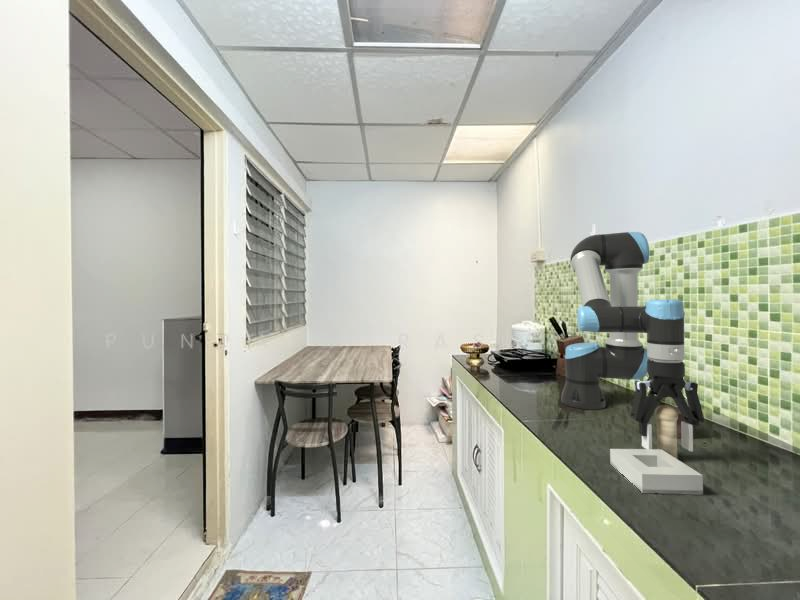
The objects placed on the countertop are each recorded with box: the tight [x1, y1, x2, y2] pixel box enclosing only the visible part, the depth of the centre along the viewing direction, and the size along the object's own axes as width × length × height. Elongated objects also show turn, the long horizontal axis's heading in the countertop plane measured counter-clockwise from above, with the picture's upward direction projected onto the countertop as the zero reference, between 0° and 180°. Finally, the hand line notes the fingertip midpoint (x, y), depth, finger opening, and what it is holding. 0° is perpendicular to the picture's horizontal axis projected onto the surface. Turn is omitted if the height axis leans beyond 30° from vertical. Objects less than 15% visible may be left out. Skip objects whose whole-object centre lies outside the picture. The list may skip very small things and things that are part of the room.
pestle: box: [654, 404, 678, 459], centre depth 85 cm, size 5×5×14 cm
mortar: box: [609, 448, 704, 495], centre depth 76 cm, size 12×12×4 cm
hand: (666, 448), depth 85 cm, fingers open, 9 cm apart
